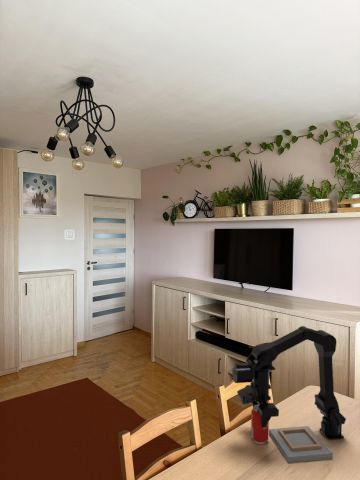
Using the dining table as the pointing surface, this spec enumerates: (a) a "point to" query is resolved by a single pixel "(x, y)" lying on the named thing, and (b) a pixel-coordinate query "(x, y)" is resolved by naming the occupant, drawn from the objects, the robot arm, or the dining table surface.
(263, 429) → the beverage can
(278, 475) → the dining table surface
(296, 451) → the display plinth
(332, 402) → the robot arm
